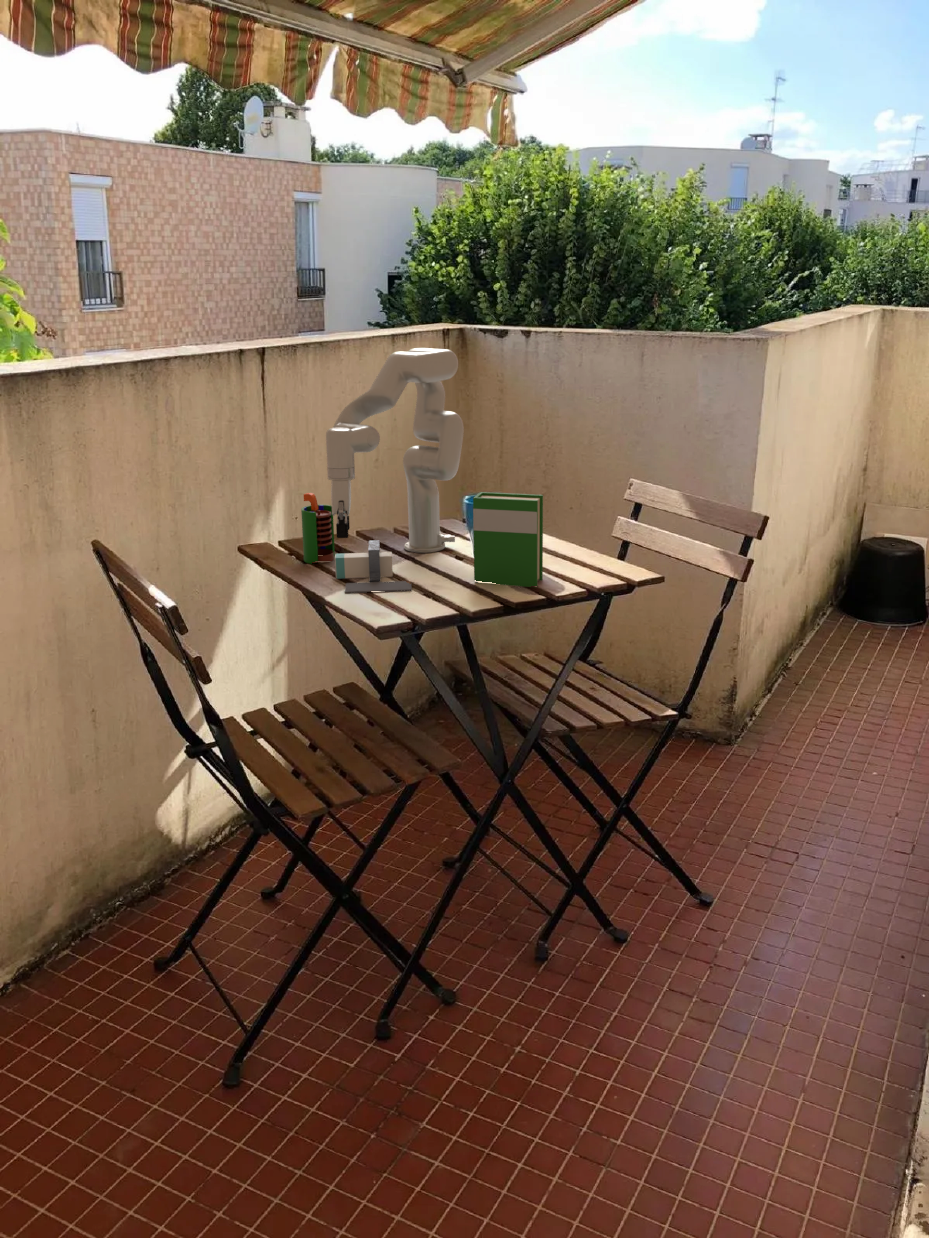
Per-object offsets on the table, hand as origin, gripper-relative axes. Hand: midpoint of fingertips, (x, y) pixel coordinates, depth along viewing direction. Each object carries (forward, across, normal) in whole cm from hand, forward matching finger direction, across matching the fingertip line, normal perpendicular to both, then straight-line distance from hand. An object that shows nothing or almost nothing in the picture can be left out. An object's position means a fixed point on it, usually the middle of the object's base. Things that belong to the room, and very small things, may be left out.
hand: (343, 533), depth 308 cm
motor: (+12, -19, -8) cm, 24 cm away
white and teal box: (+12, -1, +6) cm, 14 cm away
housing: (+12, -1, +9) cm, 15 cm away
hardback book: (+12, +10, +46) cm, 48 cm away
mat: (+12, +12, +10) cm, 20 cm away
